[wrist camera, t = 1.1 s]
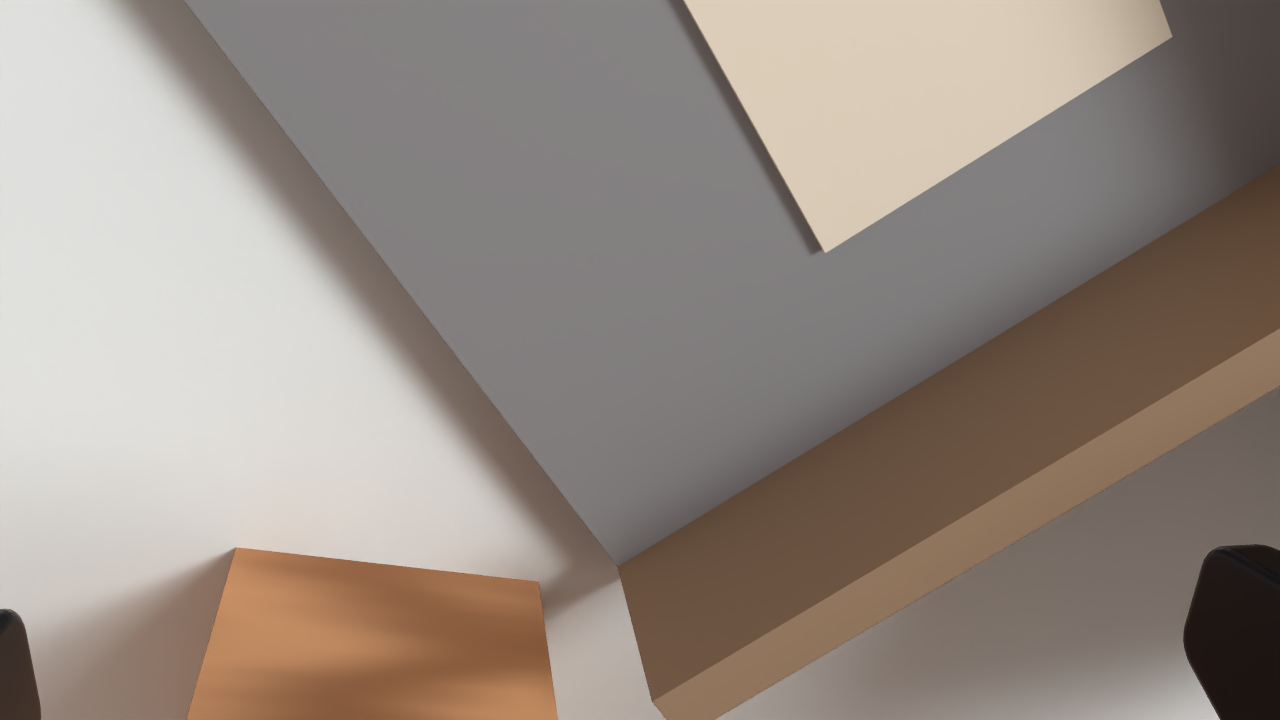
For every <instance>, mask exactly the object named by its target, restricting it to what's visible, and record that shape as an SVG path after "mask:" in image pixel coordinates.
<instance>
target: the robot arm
mask: <svg viewBox="0 0 1280 720" xmlns="http://www.w3.org/2000/svg"><path fill="white" fill-rule="evenodd" d="M1183 641H1184V649H1185V652H1186V656H1187V659H1188V661H1189V663H1190V665H1191V667H1192V669H1193V671H1194V673H1195V674H1196V676H1197V678H1198V680H1199V682H1200V684H1201V685H1202V687H1203V689H1204V691H1205V693H1206V695H1207V697H1208V698H1209V700H1210V702H1211V704H1212V706H1213V708H1214V709H1215V711H1216V713H1217V715H1218V717H1219V719H1220V720H1280V550H1277V549H1275V548H1272V547H1269V546H1266V545H1258V544H1254V545H1236V546H1221V547H1218V548H1216V549H1214V550H1212V551H1211V552H1210V553H1209V554H1208V555H1207V556H1206V558H1205V559H1204V562H1203V564H1202V567H1201V571H1200V574H1199V578H1198V581H1197V585H1196V588H1195V592H1194V595H1193V599H1192V602H1191V606H1190V609H1189V613H1188V616H1187V619H1186V623H1185V627H1184V635H1183ZM0 720H41V708H40V701H39V696H38V691H37V686H36V680H35V675H34V670H33V665H32V660H31V655H30V650H29V645H28V639H27V634H26V630H25V626H24V623H23V621H22V619H21V618H20V616H19V615H18V614H17V613H16V612H14V611H13V610H11V609H0Z"/></svg>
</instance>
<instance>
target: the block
mask: <svg viewBox="0 0 1280 720" xmlns="http://www.w3.org/2000/svg"><path fill="white" fill-rule="evenodd" d="M186 720H558V718H557V710H556V703H555V696H554V689H553V682H552V674H551V667H550V660H549V653H548V646H547V639H546V631H545V624H544V617H543V610H542V603H541V596H540V588H539V582H535V581H526V580H517V579H509V578H500V577H491V576H482V575H474V574H465V573H456V572H447V571H438V570H430V569H421V568H412V567H403V566H395V565H386V564H377V563H368V562H359V561H351V560H342V559H333V558H324V557H315V556H307V555H298V554H289V553H280V552H272V551H263V550H254V549H245V548H236V549H235V553H234V556H233V560H232V563H231V567H230V570H229V573H228V577H227V580H226V584H225V587H224V591H223V594H222V598H221V601H220V605H219V608H218V611H217V615H216V618H215V622H214V625H213V629H212V632H211V636H210V639H209V643H208V646H207V650H206V653H205V656H204V660H203V663H202V667H201V670H200V674H199V677H198V681H197V684H196V688H195V691H194V694H193V698H192V701H191V705H190V708H189V712H188V715H187V719H186Z"/></svg>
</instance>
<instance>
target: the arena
mask: <svg viewBox="0 0 1280 720" xmlns="http://www.w3.org/2000/svg"><path fill="white" fill-rule="evenodd" d="M184 1H185V3H186V4H187V5H188V7H189V8H190V9H191V11H192V12H193V13H194V14H195V16H196V17H197V18H198V20H199V21H200V22H201V24H202V25H203V26H204V27H205V29H206V30H207V31H208V33H209V34H210V35H211V37H212V38H213V39H214V41H215V42H216V43H217V44H218V46H219V47H220V48H221V50H222V51H223V52H224V54H225V55H226V56H227V58H228V59H229V60H230V61H231V63H232V64H233V65H234V67H235V68H236V69H237V71H238V72H239V73H240V74H241V76H242V77H243V78H244V80H245V81H246V82H247V84H248V85H249V86H250V88H251V89H252V90H253V91H254V93H255V94H256V95H257V97H258V98H259V99H260V101H261V102H262V103H263V105H264V106H265V107H266V108H267V110H268V111H269V112H270V114H271V115H272V116H273V118H274V119H275V120H276V121H277V123H278V124H279V125H280V127H281V128H282V129H283V131H284V132H285V133H286V135H287V136H288V137H289V138H290V140H291V141H292V142H293V144H294V145H295V146H296V148H297V149H298V150H299V151H300V153H301V154H302V155H303V157H304V158H305V159H306V161H307V162H308V163H309V165H310V166H311V167H312V168H313V170H314V171H315V172H316V174H317V175H318V176H319V178H320V179H321V180H322V182H323V183H324V184H325V185H326V187H327V188H328V189H329V191H330V192H331V193H332V195H333V196H334V197H335V198H336V200H337V201H338V202H339V204H340V205H341V206H342V208H343V209H344V210H345V212H346V213H347V214H348V215H349V217H350V218H351V219H352V221H353V222H354V223H355V225H356V226H357V227H358V228H359V230H360V231H361V232H362V234H363V235H364V236H365V238H366V239H367V240H368V242H369V243H370V244H371V245H372V247H373V248H374V249H375V251H376V252H377V253H378V255H379V256H380V257H381V259H382V260H383V261H384V262H385V264H386V265H387V266H388V268H389V269H390V270H391V272H392V273H393V274H394V275H395V277H396V278H397V279H398V281H399V282H400V283H401V285H402V286H403V287H404V289H405V290H406V291H407V292H408V294H409V295H410V296H411V298H412V299H413V300H414V302H415V303H416V304H417V305H418V307H419V308H420V309H421V311H422V312H423V313H424V315H425V316H426V317H427V319H428V320H429V321H430V322H431V324H432V325H433V326H434V328H435V329H436V330H437V332H438V333H439V334H440V336H441V337H442V338H443V339H444V341H445V342H446V343H447V345H448V346H449V347H450V349H451V350H452V351H453V352H454V354H455V355H456V356H457V358H458V359H459V360H460V362H461V363H462V364H463V366H464V367H465V368H466V369H467V371H468V372H469V373H470V375H471V376H472V377H473V379H474V380H475V381H476V383H477V384H478V385H479V386H480V388H481V389H482V390H483V392H484V393H485V394H486V396H487V397H488V398H489V399H490V401H491V402H492V403H493V405H494V406H495V407H496V409H497V410H498V411H499V413H500V414H501V415H502V416H503V418H504V419H505V420H506V422H507V423H508V424H509V426H510V427H511V428H512V429H513V431H514V432H515V433H516V435H517V436H518V437H519V439H520V440H521V441H522V443H523V444H524V445H525V446H526V448H527V449H528V450H529V452H530V453H531V454H532V456H533V457H534V458H535V460H536V461H537V462H538V463H539V465H540V466H541V467H542V469H543V470H544V471H545V473H546V474H547V475H548V476H549V478H550V479H551V480H552V482H553V483H554V484H555V486H556V487H557V488H558V490H559V491H560V492H561V493H562V495H563V496H564V497H565V499H566V500H567V501H568V503H569V504H570V505H571V506H572V508H573V509H574V510H575V512H576V513H577V514H578V516H579V517H580V518H581V520H582V521H583V522H584V523H585V525H586V526H587V527H588V529H589V530H590V531H591V533H592V534H593V535H594V537H595V538H596V539H597V540H598V542H599V543H600V544H601V546H602V547H603V548H604V550H605V551H606V552H607V553H608V555H609V556H610V557H611V559H612V560H613V561H614V563H615V564H616V565H617V567H618V570H619V574H620V578H621V582H622V586H623V590H624V594H625V597H626V601H627V605H628V609H629V613H630V617H631V621H632V625H633V629H634V633H635V637H636V641H637V644H638V648H639V652H640V656H641V660H642V664H643V668H644V672H645V676H646V680H647V684H648V687H649V691H650V695H651V699H652V702H653V703H654V705H655V706H656V707H657V708H658V710H659V711H660V712H661V713H662V715H663V716H664V717H665V718H666V720H715V719H716V718H718V717H720V716H721V715H723V714H725V713H726V712H728V711H730V710H732V709H733V708H735V707H737V706H738V705H740V704H742V703H743V702H745V701H747V700H748V699H750V698H752V697H754V696H755V695H757V694H759V693H760V692H762V691H764V690H765V689H767V688H769V687H770V686H772V685H774V684H776V683H777V682H779V681H781V680H782V679H784V678H786V677H787V676H789V675H791V674H793V673H794V672H796V671H798V670H799V669H801V668H803V667H804V666H806V665H808V664H809V663H811V662H813V661H815V660H816V659H818V658H820V657H821V656H823V655H825V654H826V653H828V652H830V651H831V650H833V649H835V648H837V647H838V646H840V645H842V644H843V643H845V642H847V641H848V640H850V639H852V638H853V637H855V636H857V635H859V634H860V633H862V632H864V631H865V630H867V629H869V628H870V627H872V626H874V625H876V624H877V623H879V622H881V621H882V620H884V619H886V618H887V617H889V616H891V615H892V614H894V613H896V612H898V611H899V610H901V609H903V608H904V607H906V606H908V605H909V604H911V603H913V602H914V601H916V600H918V599H920V598H921V597H923V596H925V595H926V594H928V593H930V592H931V591H933V590H935V589H937V588H938V587H940V586H942V585H943V584H945V583H947V582H948V581H950V580H952V579H953V578H955V577H957V576H959V575H960V574H962V573H964V572H965V571H967V570H969V569H970V568H972V567H974V566H975V565H977V564H979V563H981V562H982V561H984V560H986V559H987V558H989V557H991V556H992V555H994V554H996V553H997V552H999V551H1001V550H1003V549H1004V548H1006V547H1008V546H1009V545H1011V544H1013V543H1014V542H1016V541H1018V540H1020V539H1021V538H1023V537H1025V536H1026V535H1028V534H1030V533H1031V532H1033V531H1035V530H1036V529H1038V528H1040V527H1042V526H1043V525H1045V524H1047V523H1048V522H1050V521H1052V520H1053V519H1055V518H1057V517H1058V516H1060V515H1062V514H1064V513H1065V512H1067V511H1069V510H1070V509H1072V508H1074V507H1075V506H1077V505H1079V504H1081V503H1082V502H1084V501H1086V500H1087V499H1089V498H1091V497H1092V496H1094V495H1096V494H1097V493H1099V492H1101V491H1103V490H1104V489H1106V488H1108V487H1109V486H1111V485H1113V484H1114V483H1116V482H1118V481H1119V480H1121V479H1123V478H1125V477H1126V476H1128V475H1130V474H1131V473H1133V472H1135V471H1136V470H1138V469H1140V468H1141V467H1143V466H1145V465H1147V464H1148V463H1150V462H1152V461H1153V460H1155V459H1157V458H1158V457H1160V456H1162V455H1164V454H1165V453H1167V452H1169V451H1170V450H1172V449H1174V448H1175V447H1177V446H1179V445H1180V444H1182V443H1184V442H1186V441H1187V440H1189V439H1191V438H1192V437H1194V436H1196V435H1197V434H1199V433H1201V432H1202V431H1204V430H1206V429H1208V428H1209V427H1211V426H1213V425H1214V424H1216V423H1218V422H1219V421H1221V420H1223V419H1225V418H1226V417H1228V416H1230V415H1231V414H1233V413H1235V412H1236V411H1238V410H1240V409H1241V408H1243V407H1245V406H1247V405H1248V404H1250V403H1252V402H1253V401H1255V400H1257V399H1258V398H1260V397H1262V396H1263V395H1265V394H1267V393H1269V392H1270V391H1272V390H1274V389H1275V388H1277V387H1279V386H1280V0H184Z"/></svg>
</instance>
